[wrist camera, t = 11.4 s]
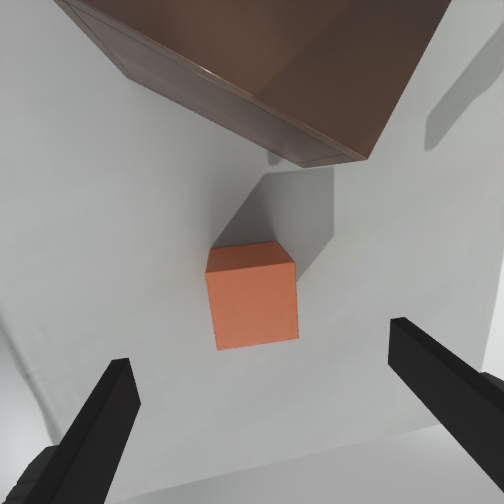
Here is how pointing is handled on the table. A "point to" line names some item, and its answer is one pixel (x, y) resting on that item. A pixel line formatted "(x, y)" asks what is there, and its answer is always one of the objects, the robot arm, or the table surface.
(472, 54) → the table surface
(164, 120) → the table surface
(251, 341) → the block
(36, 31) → the table surface
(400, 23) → the cabinet
